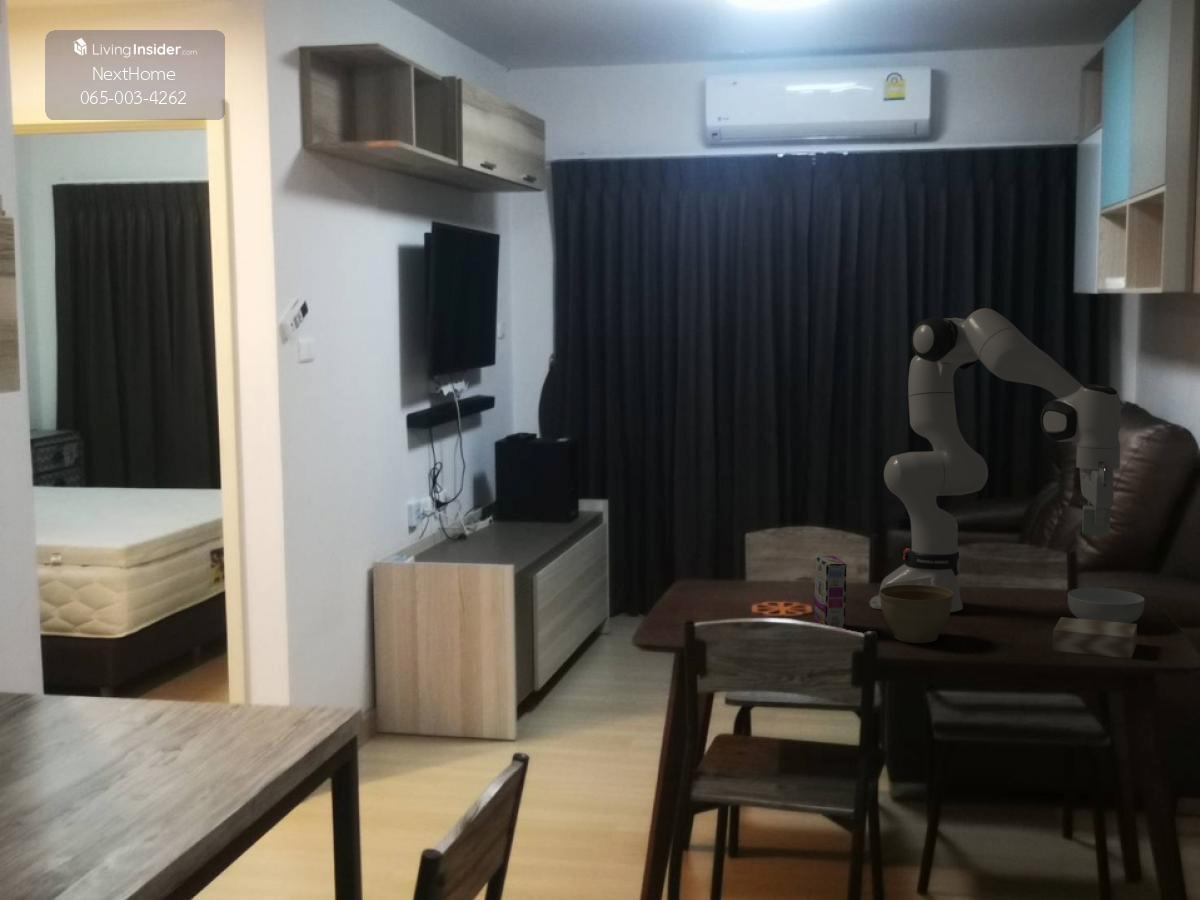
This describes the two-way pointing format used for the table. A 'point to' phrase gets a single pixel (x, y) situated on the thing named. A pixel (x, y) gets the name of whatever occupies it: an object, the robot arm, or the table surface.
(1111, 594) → the cereal bowl
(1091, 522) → the sage block
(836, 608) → the candy bar box
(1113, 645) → the birch riser
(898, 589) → the planter bowl
